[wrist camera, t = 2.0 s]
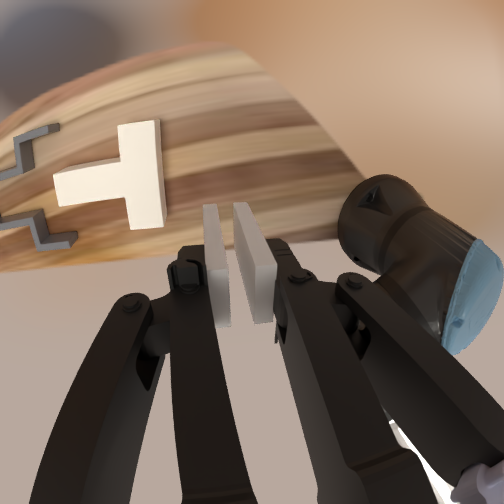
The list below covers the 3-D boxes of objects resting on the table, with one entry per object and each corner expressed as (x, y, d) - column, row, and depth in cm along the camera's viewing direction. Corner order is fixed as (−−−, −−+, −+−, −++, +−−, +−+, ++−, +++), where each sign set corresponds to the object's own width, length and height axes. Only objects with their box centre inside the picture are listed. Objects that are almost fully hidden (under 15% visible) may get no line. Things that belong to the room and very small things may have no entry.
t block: (159, 119, 27) (154, 120, 24) (167, 214, 33) (163, 226, 30) (63, 137, 25) (48, 141, 22) (78, 223, 31) (66, 236, 28)
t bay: (59, 123, 24) (47, 125, 22) (78, 237, 32) (70, 247, 29) (-16, 151, 22) (-28, 155, 19) (6, 247, 30) (-3, 256, 27)
